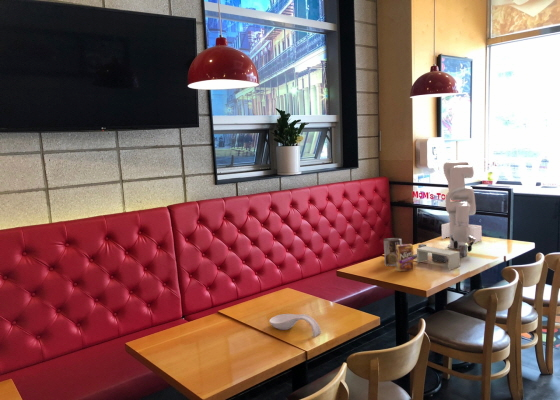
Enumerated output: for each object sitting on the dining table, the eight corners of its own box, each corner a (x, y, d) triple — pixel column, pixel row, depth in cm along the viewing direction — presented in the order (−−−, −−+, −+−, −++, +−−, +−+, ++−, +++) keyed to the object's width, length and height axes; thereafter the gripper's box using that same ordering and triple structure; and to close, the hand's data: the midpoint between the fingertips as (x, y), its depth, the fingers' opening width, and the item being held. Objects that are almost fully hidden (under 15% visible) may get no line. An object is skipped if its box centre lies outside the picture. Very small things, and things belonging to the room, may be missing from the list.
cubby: (426, 259, 279) (426, 245, 278) (459, 266, 259) (459, 251, 258) (417, 262, 274) (416, 248, 273) (450, 269, 254) (450, 254, 253)
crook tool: (453, 253, 288) (453, 243, 287) (467, 256, 280) (467, 245, 279) (432, 260, 276) (431, 249, 275) (445, 263, 268) (445, 251, 267)
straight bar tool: (422, 254, 292) (421, 243, 291) (426, 255, 289) (426, 244, 288) (406, 258, 283) (406, 248, 282) (411, 259, 280) (410, 249, 279)
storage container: (481, 240, 319) (481, 225, 318) (473, 243, 312) (473, 228, 311) (449, 236, 339) (449, 222, 337) (441, 239, 332) (441, 224, 331)
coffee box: (399, 263, 275) (398, 237, 273) (401, 265, 268) (400, 239, 266) (384, 263, 276) (383, 238, 274) (385, 266, 269) (384, 240, 267)
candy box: (398, 271, 257) (397, 246, 255) (396, 269, 261) (395, 244, 259) (413, 270, 257) (413, 244, 255) (411, 268, 261) (410, 243, 259)
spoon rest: (264, 329, 188) (263, 313, 188) (281, 319, 198) (279, 304, 197) (310, 341, 174) (309, 323, 173) (326, 330, 183) (325, 313, 182)
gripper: (446, 222, 283) (447, 248, 286) (471, 226, 269) (471, 253, 272) (453, 220, 288) (454, 246, 290) (478, 224, 273) (478, 251, 276)
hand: (462, 249), depth 281 cm, fingers open, 9 cm apart
